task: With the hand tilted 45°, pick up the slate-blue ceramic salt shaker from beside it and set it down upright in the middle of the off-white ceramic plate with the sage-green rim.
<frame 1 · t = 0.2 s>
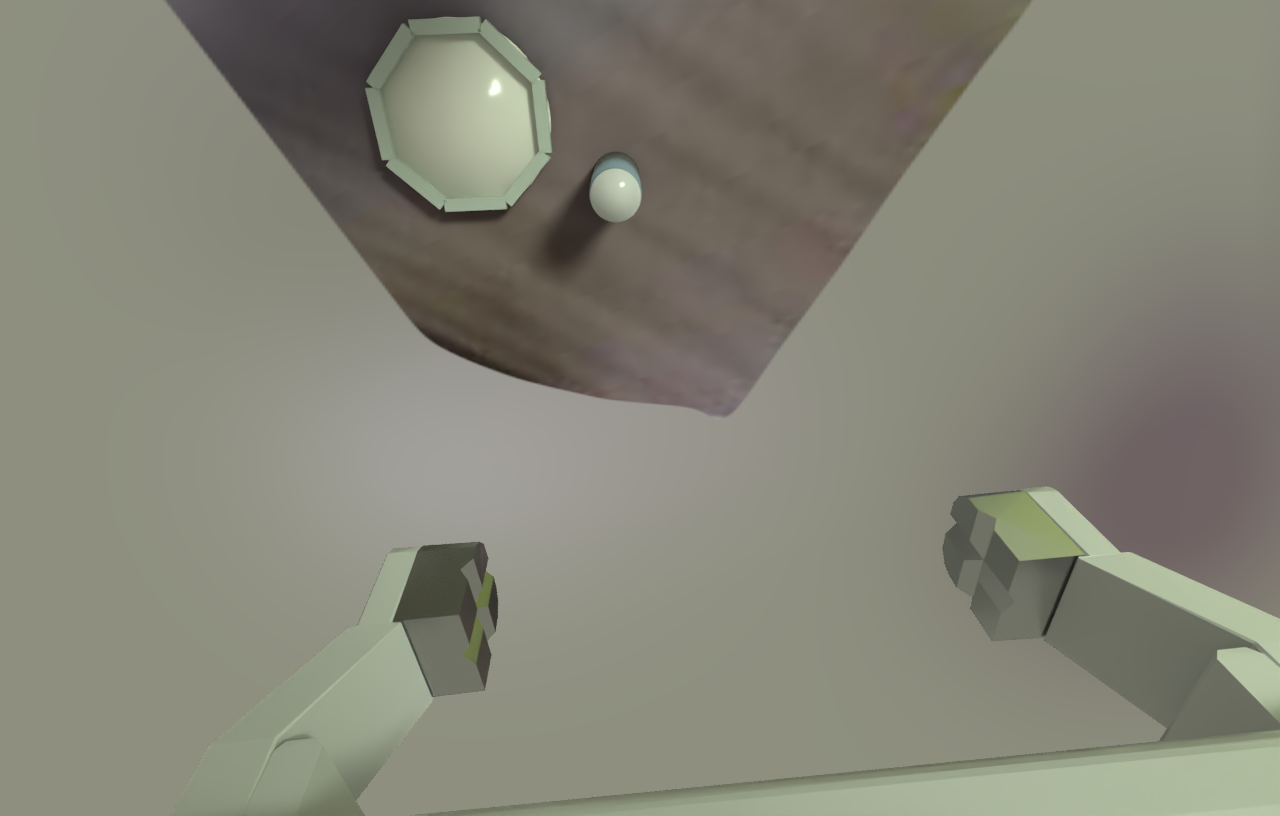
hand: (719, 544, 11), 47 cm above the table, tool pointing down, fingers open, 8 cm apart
plate: (465, 119, 50), on the table
shaker: (616, 176, 52), on the table
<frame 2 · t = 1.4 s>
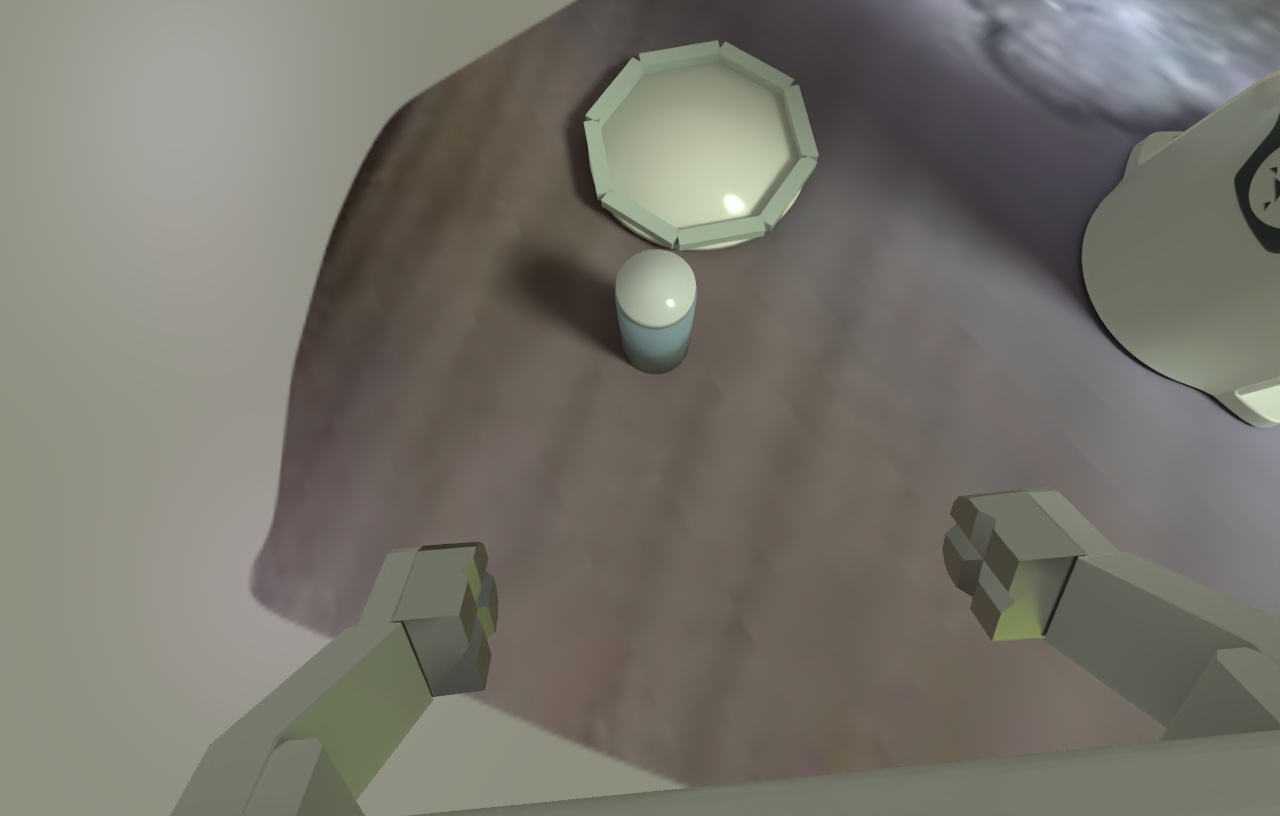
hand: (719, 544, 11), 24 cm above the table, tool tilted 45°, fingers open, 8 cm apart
plate: (697, 155, 39), on the table
shaker: (655, 342, 37), on the table
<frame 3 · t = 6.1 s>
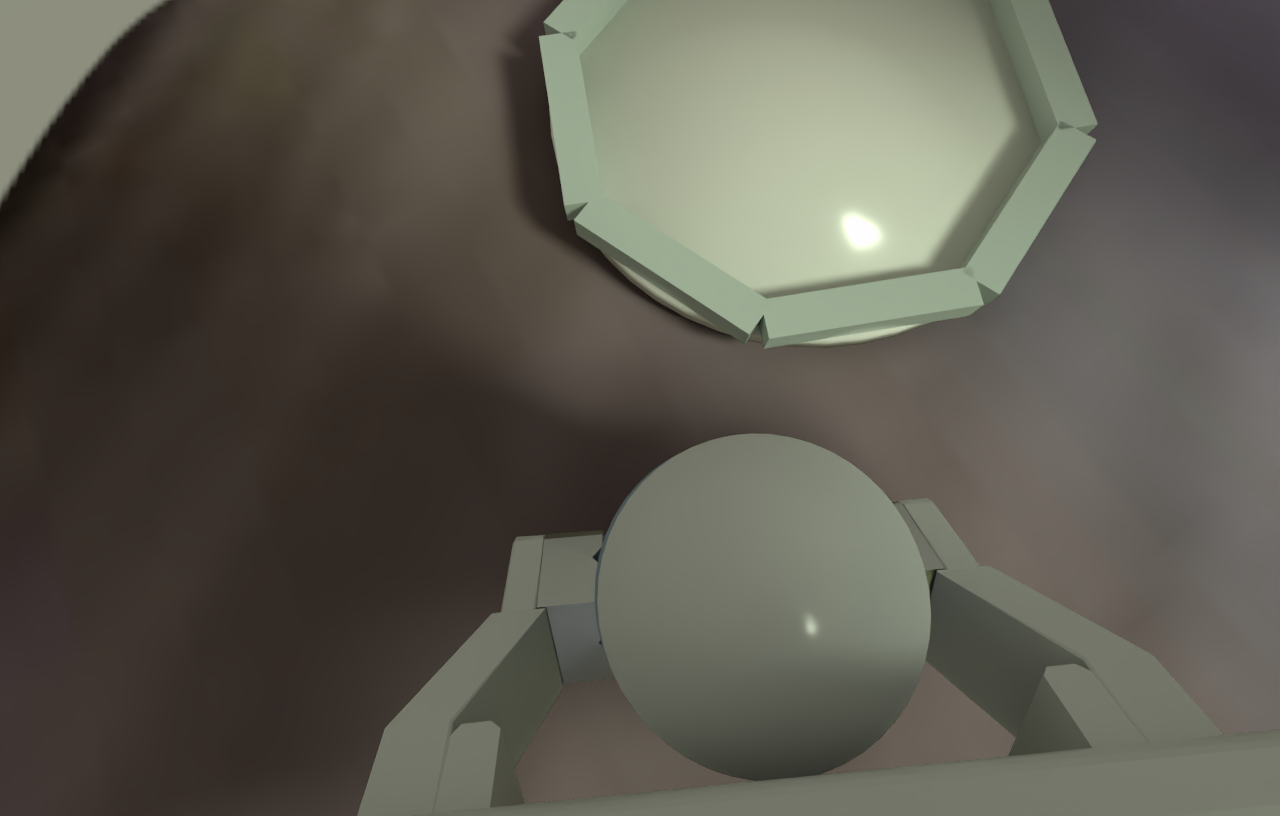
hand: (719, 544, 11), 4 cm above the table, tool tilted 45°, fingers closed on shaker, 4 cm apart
plate: (795, 123, 18), on the table
shaker: (702, 575, 15), on the table, touching gripper
when the fingers open (7 cm above the table, at t = 13.3 s): shaker drops 1 cm, resting on plate.
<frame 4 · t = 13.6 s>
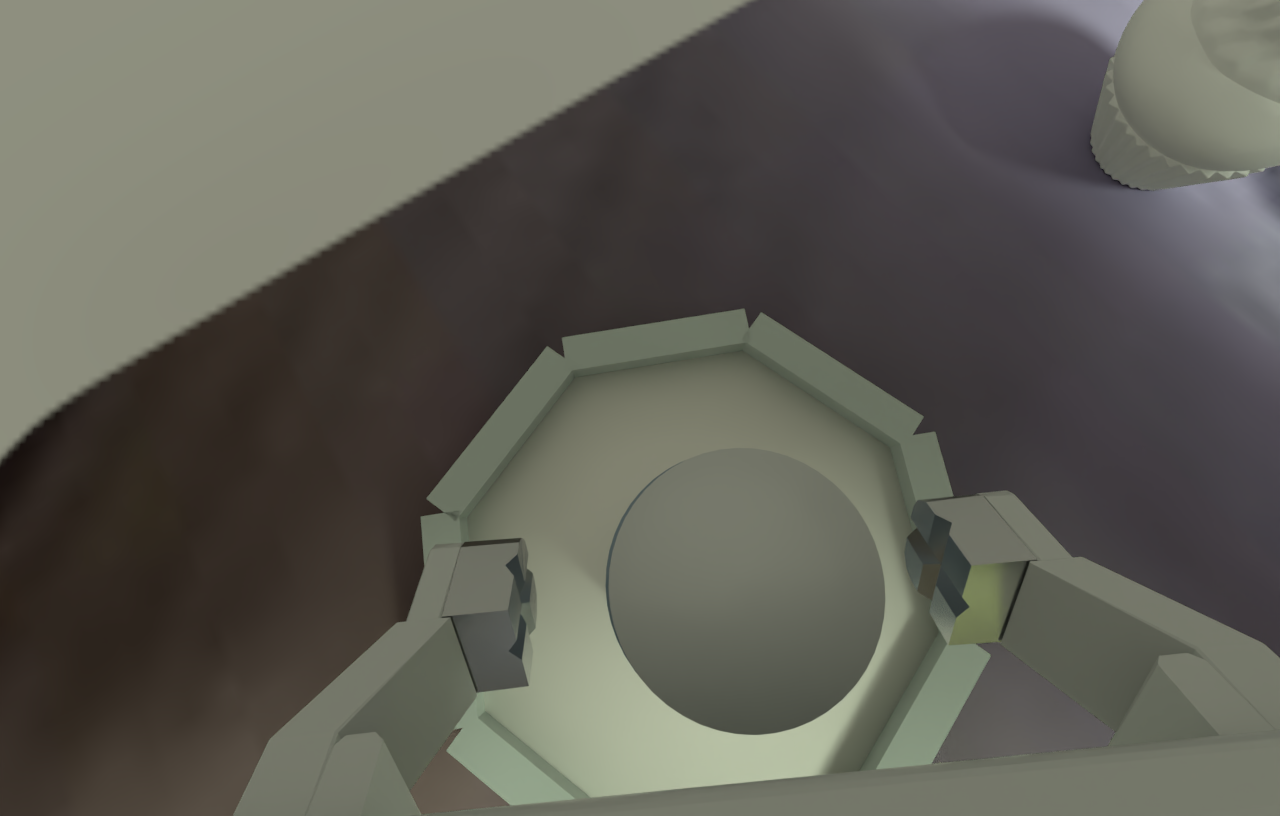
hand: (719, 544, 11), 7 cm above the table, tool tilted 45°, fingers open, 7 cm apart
plate: (693, 572, 17), on the table
shaker: (700, 572, 16), point 1 cm above the table, touching plate
muffin: (1133, 151, 20), on the table
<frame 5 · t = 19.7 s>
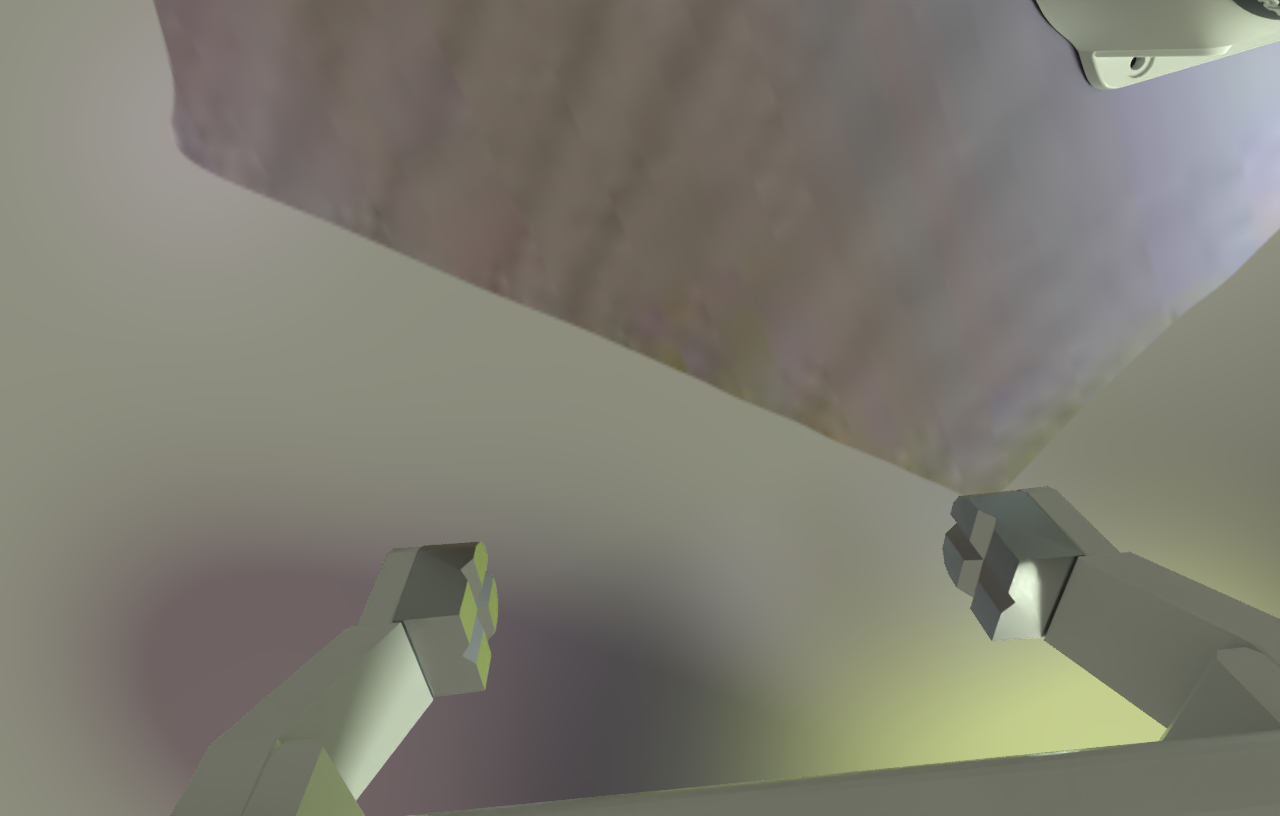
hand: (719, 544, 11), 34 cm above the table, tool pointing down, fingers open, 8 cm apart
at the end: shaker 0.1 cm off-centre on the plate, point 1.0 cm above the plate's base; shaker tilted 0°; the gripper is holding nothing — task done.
